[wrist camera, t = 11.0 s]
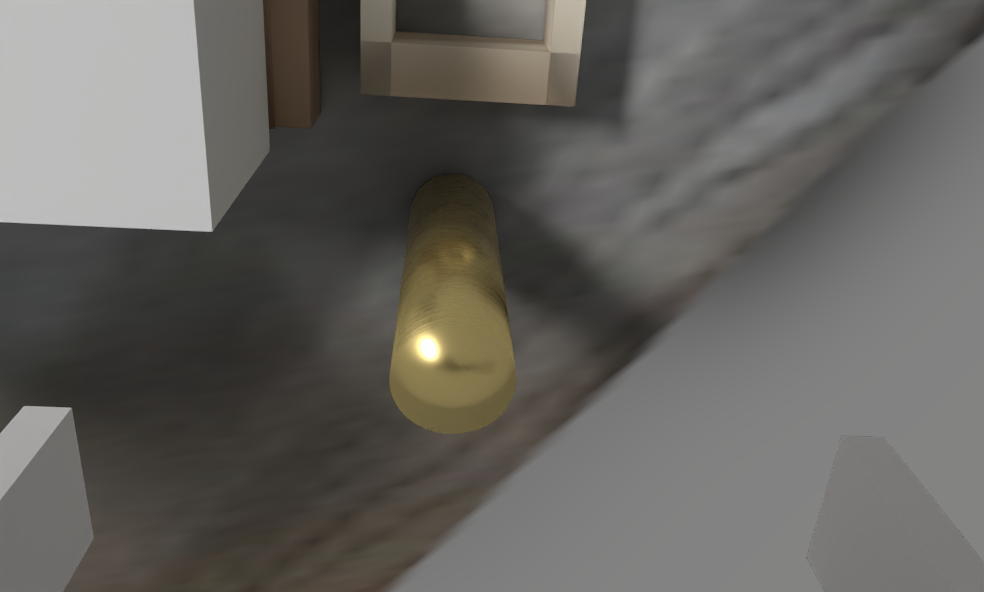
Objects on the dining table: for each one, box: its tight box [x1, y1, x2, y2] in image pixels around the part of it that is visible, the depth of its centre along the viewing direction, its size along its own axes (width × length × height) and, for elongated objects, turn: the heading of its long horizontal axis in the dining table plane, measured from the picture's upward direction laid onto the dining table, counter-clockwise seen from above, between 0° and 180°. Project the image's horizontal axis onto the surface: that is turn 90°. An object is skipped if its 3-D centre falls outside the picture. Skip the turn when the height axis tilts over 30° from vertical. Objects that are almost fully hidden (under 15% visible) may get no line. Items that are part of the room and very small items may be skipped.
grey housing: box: [0, 0, 270, 232], centre depth 18 cm, size 7×6×6 cm
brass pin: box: [389, 174, 516, 434], centre depth 22 cm, size 3×3×10 cm
